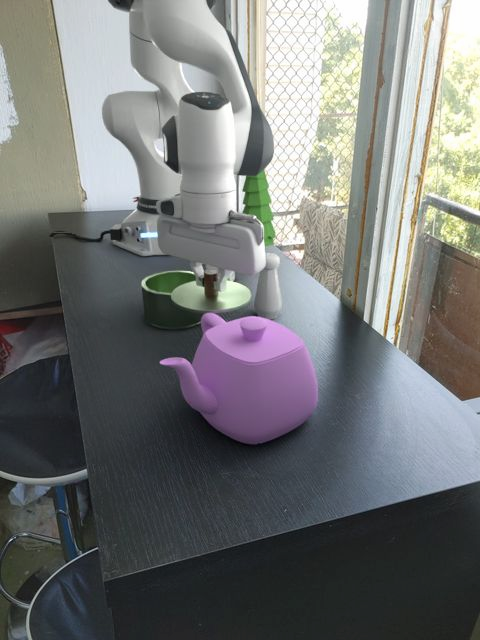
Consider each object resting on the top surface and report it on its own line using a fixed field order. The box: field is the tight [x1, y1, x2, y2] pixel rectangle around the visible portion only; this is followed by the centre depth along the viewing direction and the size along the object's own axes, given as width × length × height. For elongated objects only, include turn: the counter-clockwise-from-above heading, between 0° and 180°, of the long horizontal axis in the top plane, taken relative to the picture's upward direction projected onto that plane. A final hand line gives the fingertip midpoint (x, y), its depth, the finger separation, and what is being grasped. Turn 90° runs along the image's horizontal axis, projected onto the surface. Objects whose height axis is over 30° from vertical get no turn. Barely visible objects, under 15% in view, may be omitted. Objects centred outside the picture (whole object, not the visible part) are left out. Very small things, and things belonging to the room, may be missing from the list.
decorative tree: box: [241, 169, 277, 247], centre depth 129 cm, size 10×9×30 cm
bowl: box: [141, 270, 204, 331], centre depth 105 cm, size 13×13×8 cm
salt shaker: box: [253, 252, 283, 320], centre depth 104 cm, size 6×6×13 cm
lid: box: [171, 269, 252, 314], centre depth 90 cm, size 14×14×5 cm
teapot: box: [159, 313, 319, 445], centre depth 74 cm, size 23×21×15 cm
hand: (211, 287), depth 90 cm, fingers closed on lid, 2 cm apart
